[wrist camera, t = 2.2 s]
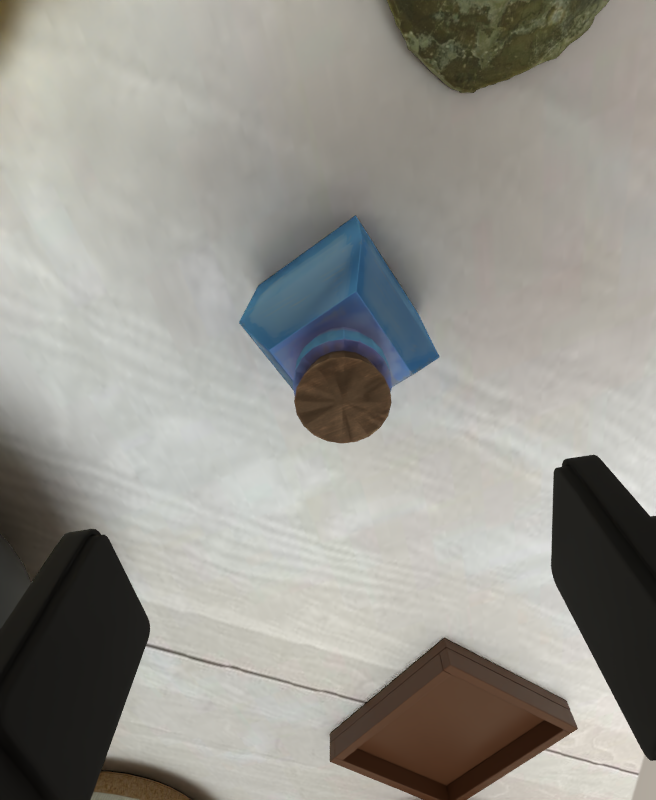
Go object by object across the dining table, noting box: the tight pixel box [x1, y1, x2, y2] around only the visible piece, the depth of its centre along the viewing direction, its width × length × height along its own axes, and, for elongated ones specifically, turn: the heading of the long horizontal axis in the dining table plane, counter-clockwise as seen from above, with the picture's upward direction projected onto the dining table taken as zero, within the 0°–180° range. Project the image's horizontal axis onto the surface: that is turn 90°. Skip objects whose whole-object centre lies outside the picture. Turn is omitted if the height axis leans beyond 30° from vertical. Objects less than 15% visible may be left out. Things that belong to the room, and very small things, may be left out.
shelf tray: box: [330, 638, 578, 800], centre depth 43 cm, size 16×14×2 cm
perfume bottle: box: [239, 216, 439, 443], centre depth 22 cm, size 6×6×12 cm
